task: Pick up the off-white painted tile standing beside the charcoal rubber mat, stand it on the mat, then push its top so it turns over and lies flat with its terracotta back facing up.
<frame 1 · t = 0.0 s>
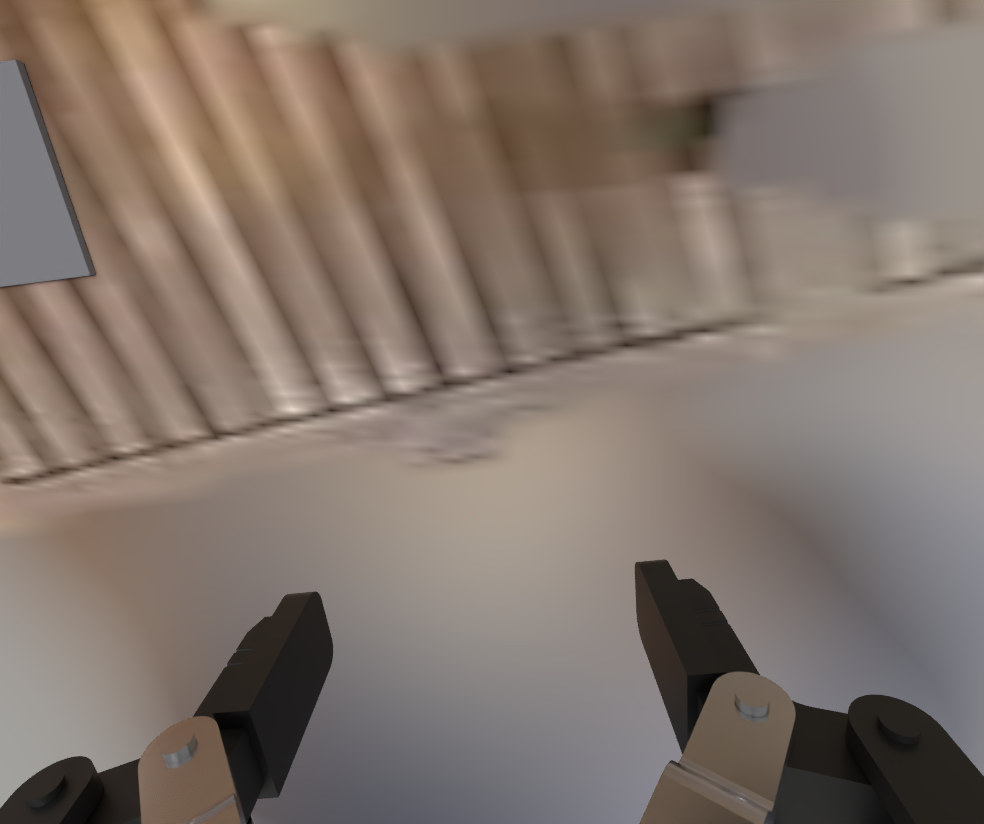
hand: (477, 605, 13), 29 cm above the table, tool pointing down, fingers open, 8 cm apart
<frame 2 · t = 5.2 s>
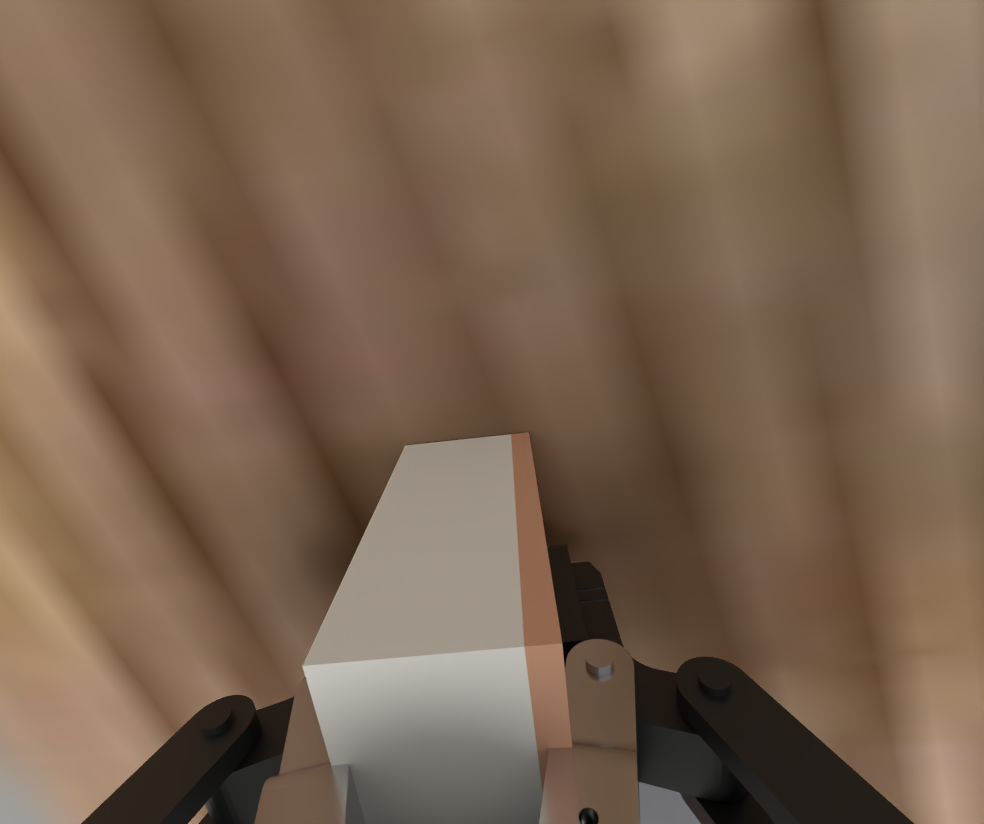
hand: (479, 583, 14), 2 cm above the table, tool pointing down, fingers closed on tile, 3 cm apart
tile: (482, 546, 16), on the table, touching gripper
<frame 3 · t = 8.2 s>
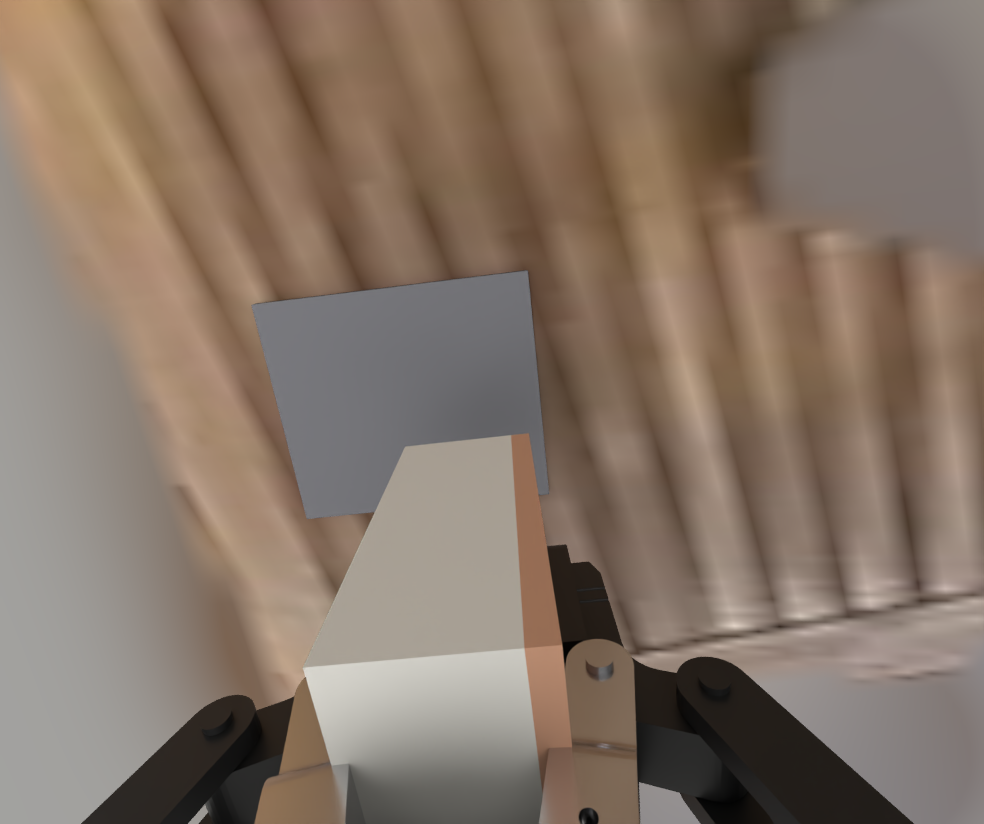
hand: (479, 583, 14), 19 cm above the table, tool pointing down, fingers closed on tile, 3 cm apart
tile: (482, 547, 16), point 17 cm above the table, touching gripper
mat: (410, 401, 32), on the table
when the fingers open (3 cm above the table, at t = 11.3 s): tile stays where it is, resting on mat.
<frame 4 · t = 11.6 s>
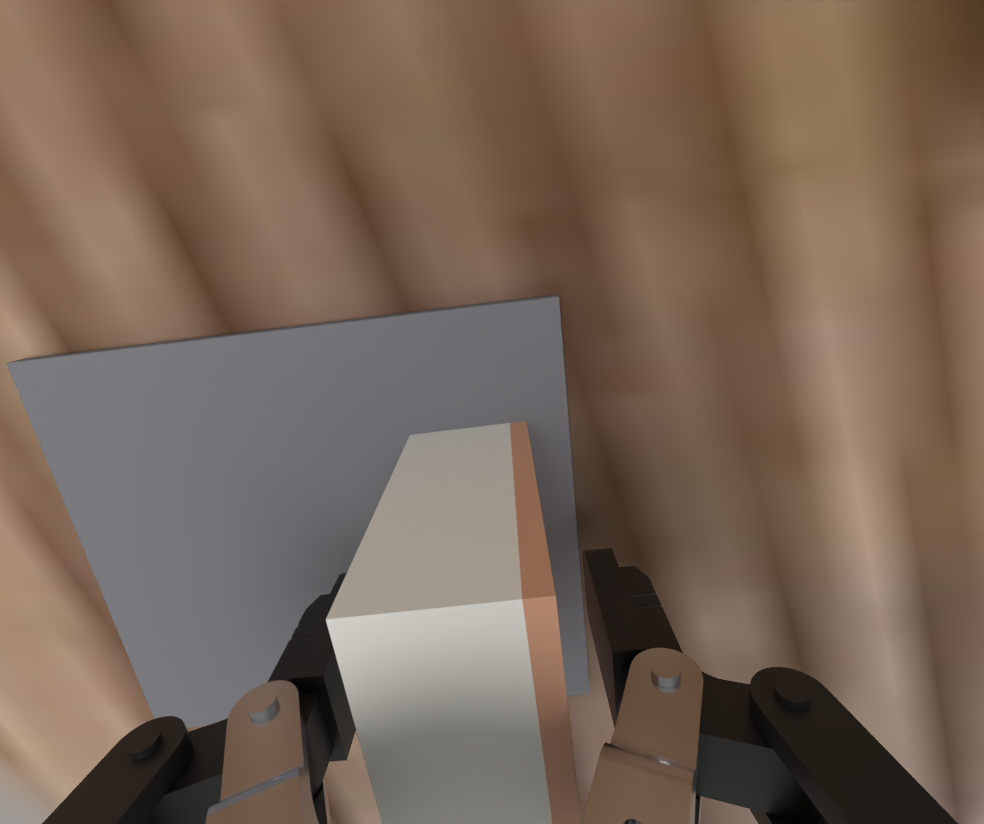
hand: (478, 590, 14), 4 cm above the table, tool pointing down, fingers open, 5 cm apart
tile: (483, 530, 16), point 1 cm above the table, touching mat
mat: (334, 536, 17), on the table
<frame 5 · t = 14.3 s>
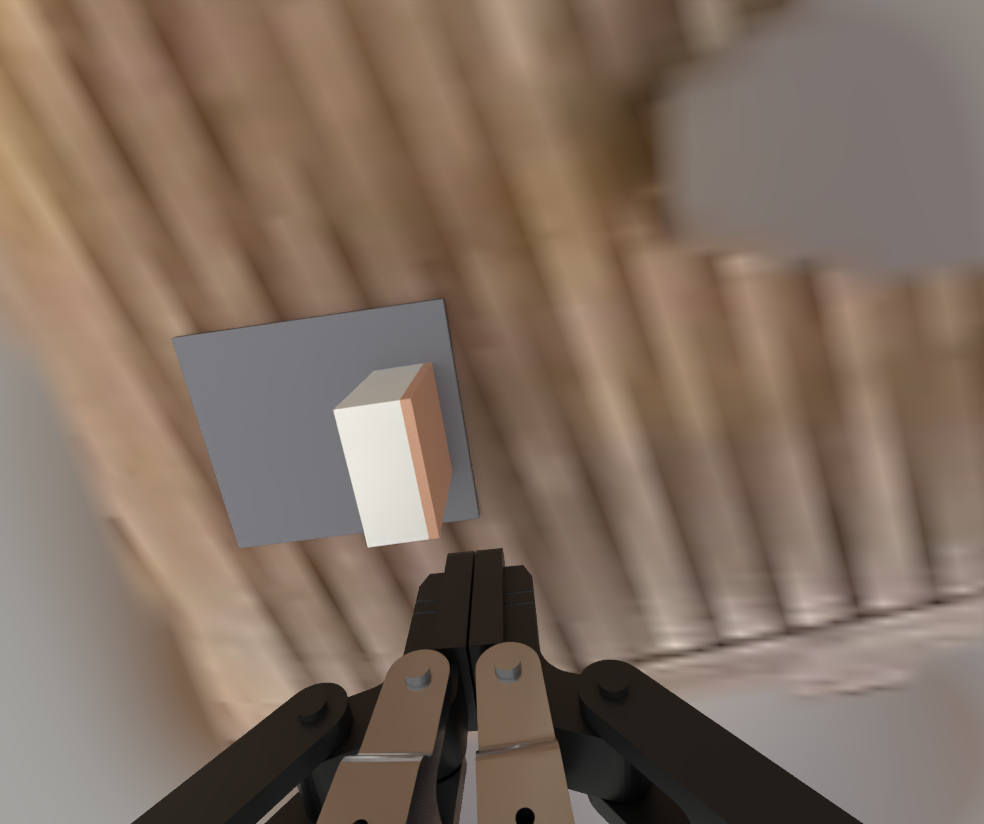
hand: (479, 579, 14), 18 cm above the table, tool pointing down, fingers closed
tile: (414, 422, 31), point 1 cm above the table, touching mat
mat: (336, 429, 32), on the table
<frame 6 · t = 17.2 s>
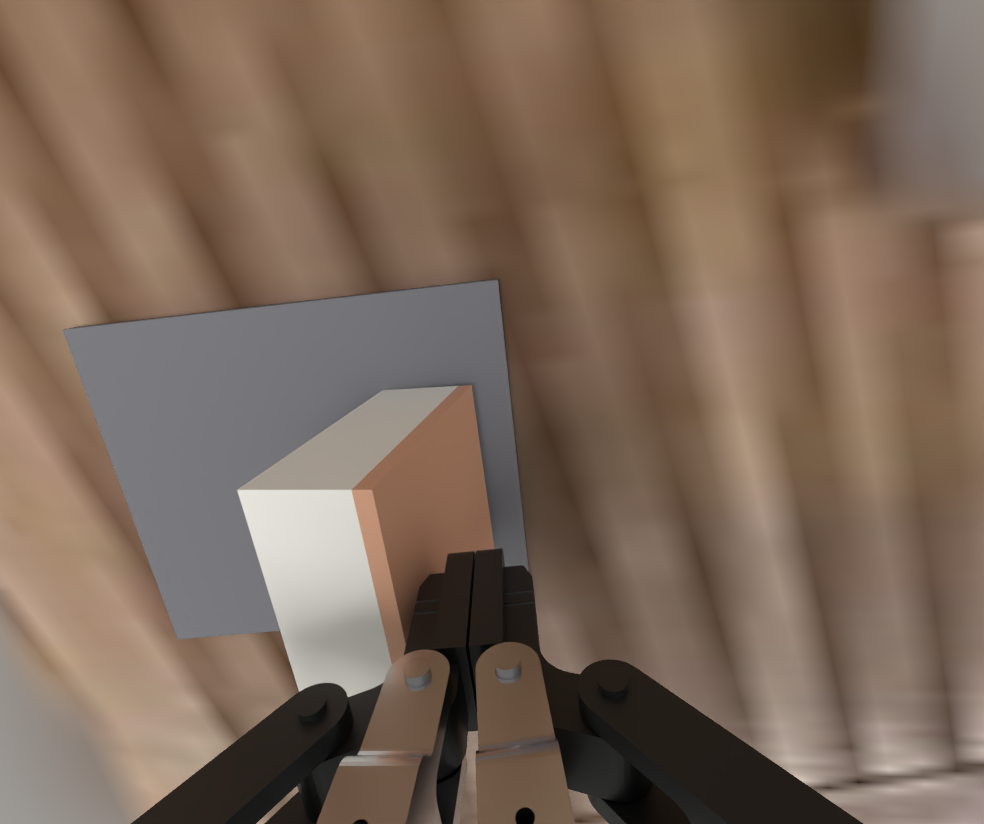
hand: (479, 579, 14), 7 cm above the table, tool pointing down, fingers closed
tile: (440, 473, 20), point 1 cm above the table, tilted 13°, touching mat
mat: (322, 475, 21), on the table
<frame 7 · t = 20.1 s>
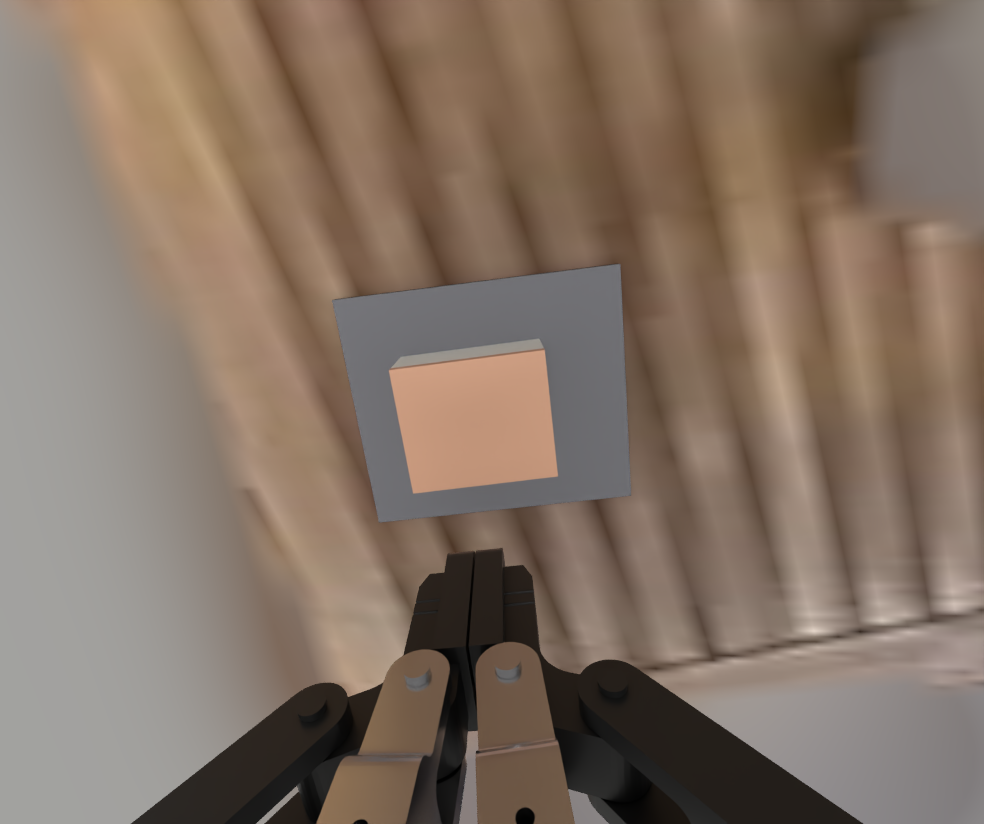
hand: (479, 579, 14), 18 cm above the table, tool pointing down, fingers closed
tile: (548, 405, 29), point 2 cm above the table, tilted 90°, touching mat
mat: (490, 400, 31), on the table
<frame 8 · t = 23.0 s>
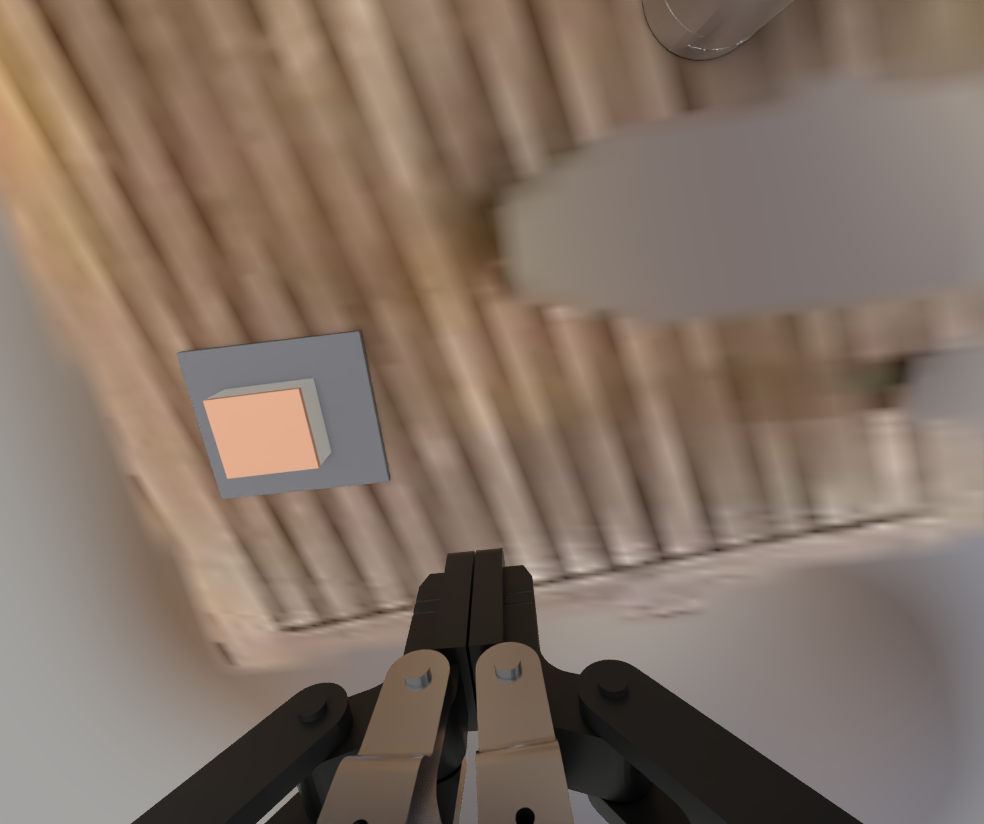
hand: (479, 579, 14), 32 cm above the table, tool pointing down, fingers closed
tile: (315, 422, 44), point 2 cm above the table, tilted 90°, touching mat
mat: (289, 417, 47), on the table
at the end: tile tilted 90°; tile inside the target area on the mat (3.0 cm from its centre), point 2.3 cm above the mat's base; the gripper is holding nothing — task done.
